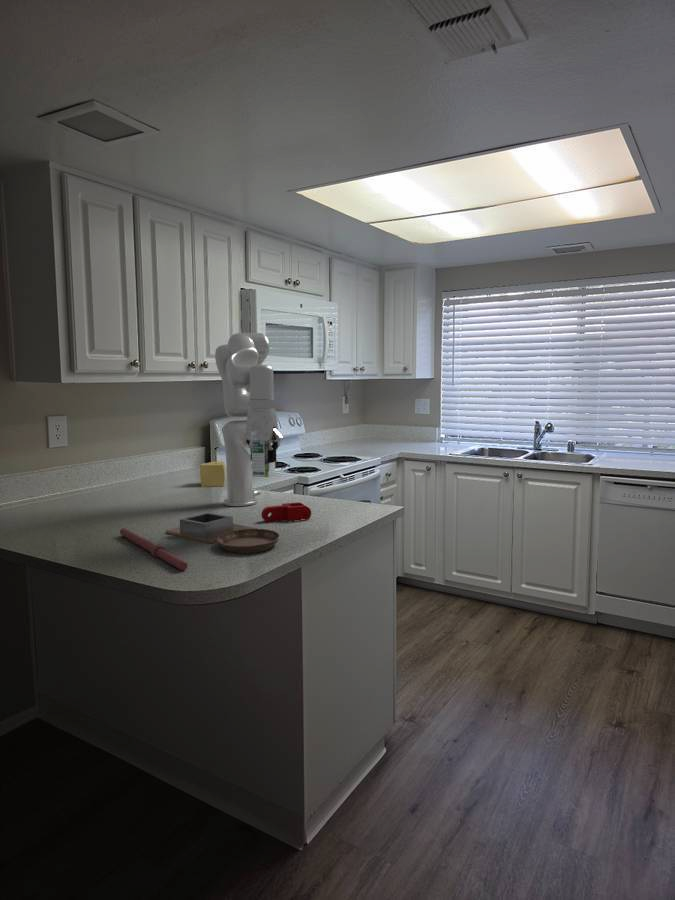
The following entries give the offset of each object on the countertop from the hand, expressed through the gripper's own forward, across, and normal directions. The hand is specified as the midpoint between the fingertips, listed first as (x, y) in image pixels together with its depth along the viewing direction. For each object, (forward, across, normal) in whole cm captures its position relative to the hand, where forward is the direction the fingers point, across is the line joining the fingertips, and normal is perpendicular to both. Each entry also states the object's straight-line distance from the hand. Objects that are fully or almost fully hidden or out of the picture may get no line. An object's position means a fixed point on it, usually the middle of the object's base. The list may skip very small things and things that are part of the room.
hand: (263, 460), depth 196 cm
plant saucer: (+22, +11, -19) cm, 31 cm away
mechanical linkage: (+22, -1, +12) cm, 25 cm away
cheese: (+22, -73, +45) cm, 89 cm away
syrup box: (+5, 0, 0) cm, 5 cm away
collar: (+21, -10, -14) cm, 27 cm away
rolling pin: (+22, -7, -39) cm, 45 cm away
